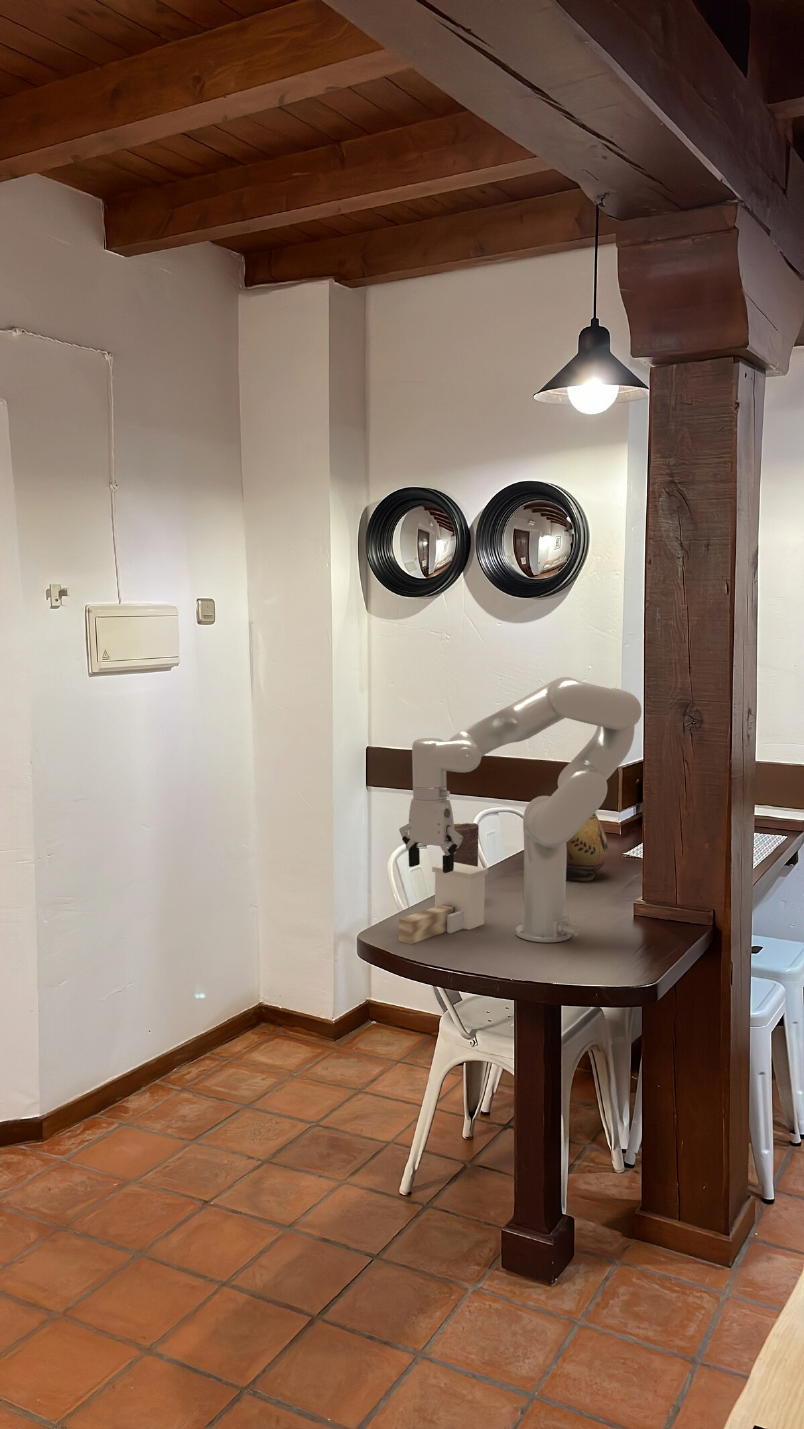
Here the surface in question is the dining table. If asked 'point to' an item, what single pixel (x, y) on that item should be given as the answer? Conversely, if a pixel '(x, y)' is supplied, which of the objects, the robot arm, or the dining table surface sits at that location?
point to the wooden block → (424, 924)
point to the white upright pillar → (461, 895)
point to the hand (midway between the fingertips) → (431, 868)
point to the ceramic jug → (586, 851)
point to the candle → (467, 844)
